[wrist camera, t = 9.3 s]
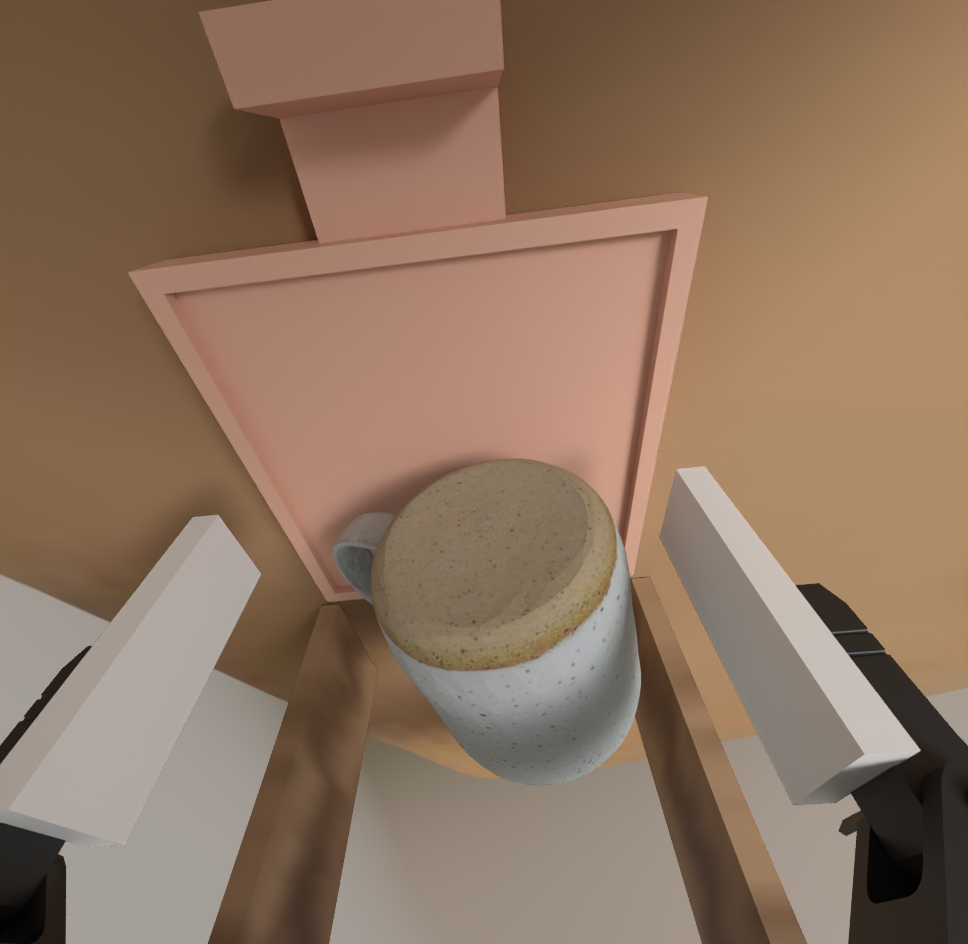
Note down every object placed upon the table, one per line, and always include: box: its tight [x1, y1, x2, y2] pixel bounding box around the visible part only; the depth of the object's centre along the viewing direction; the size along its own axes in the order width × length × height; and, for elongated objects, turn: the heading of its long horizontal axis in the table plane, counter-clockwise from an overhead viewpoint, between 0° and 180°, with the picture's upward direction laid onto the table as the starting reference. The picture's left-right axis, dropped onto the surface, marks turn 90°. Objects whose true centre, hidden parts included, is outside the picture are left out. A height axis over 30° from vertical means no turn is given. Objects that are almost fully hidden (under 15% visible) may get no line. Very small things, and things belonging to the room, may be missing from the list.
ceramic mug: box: [332, 459, 641, 786], centre depth 13 cm, size 11×8×8 cm
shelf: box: [208, 577, 807, 944], centre depth 18 cm, size 8×18×16 cm, turn 96°
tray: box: [127, 0, 708, 602], centre depth 13 cm, size 18×15×3 cm
